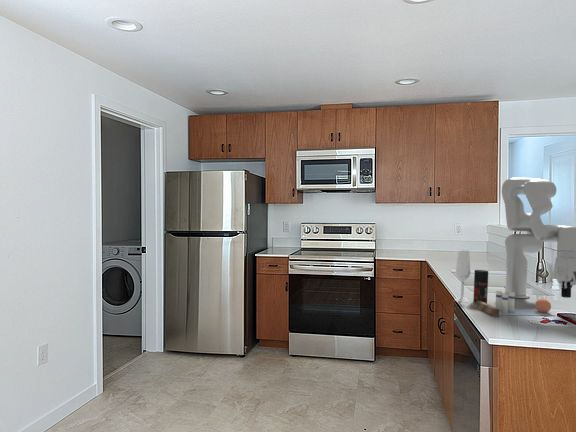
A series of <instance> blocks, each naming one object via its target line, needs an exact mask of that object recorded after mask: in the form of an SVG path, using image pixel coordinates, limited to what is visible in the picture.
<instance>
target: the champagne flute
mask: <svg viewBox="0 0 576 432" xmlns="http://www.w3.org/2000/svg"><path fill="white" fill-rule="evenodd" d="M457 252H458V253H457V258H456V266H455V275H456V277H457V278H458V279H459V280H460V281H461V284H460V296H459V297H457V298H455V299H454V301H456V302H461V303H469V302H470V300H469V299H467V298H466V297H465V296H464V293H465V292H464V289H465V281H466V280H467V279H469V277H470V276H471V259H470V258H471V257H470V250H468V249H467V250H465V249H458V251H457Z"/></svg>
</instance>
